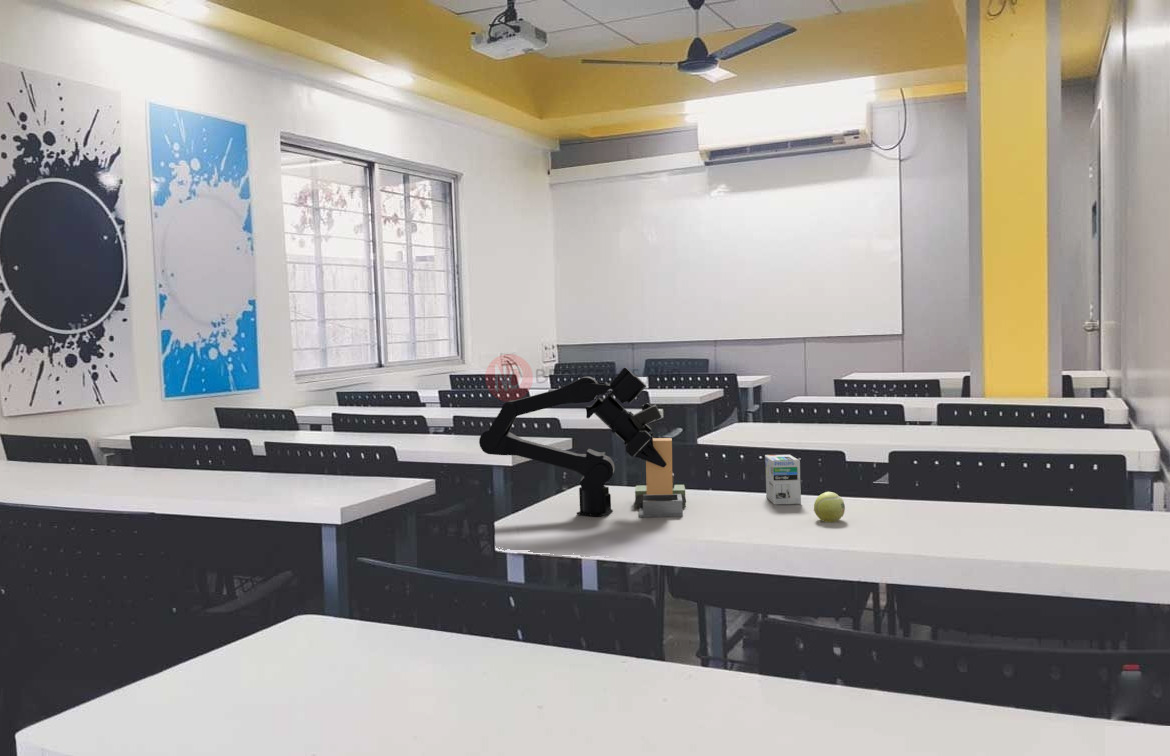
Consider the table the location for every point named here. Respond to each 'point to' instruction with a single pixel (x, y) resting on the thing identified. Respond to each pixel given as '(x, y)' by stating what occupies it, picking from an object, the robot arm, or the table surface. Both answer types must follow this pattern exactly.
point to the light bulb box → (783, 479)
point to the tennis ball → (829, 507)
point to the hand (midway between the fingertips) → (665, 464)
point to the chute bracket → (661, 506)
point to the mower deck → (642, 491)
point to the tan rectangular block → (660, 469)
